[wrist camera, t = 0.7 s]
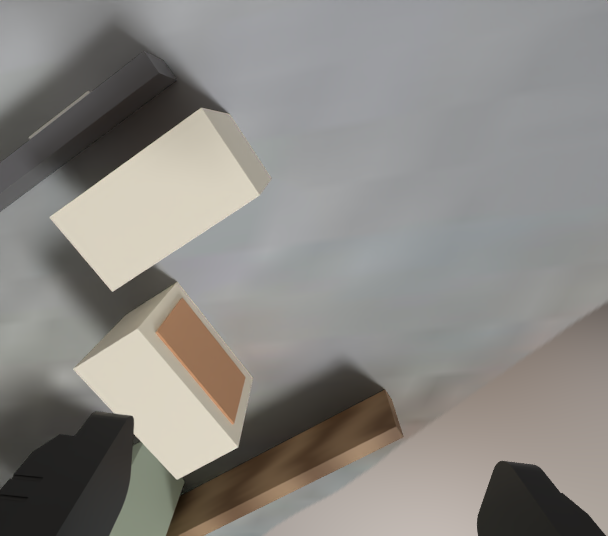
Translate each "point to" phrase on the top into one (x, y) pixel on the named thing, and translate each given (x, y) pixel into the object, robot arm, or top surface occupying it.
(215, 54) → the top surface
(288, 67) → the top surface
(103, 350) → the box
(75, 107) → the rail
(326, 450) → the shelf back lip
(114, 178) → the faced twin box
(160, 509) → the sage tea tin
